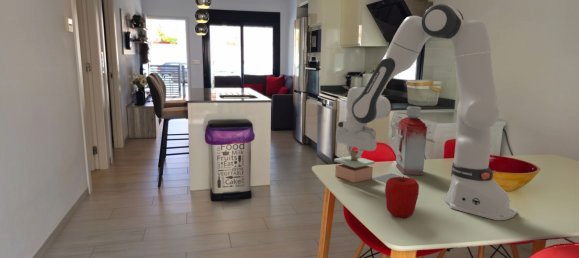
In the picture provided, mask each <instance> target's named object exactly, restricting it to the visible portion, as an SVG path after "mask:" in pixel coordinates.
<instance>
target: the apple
mask: <svg viewBox="0 0 579 258" xmlns="http://www.w3.org/2000/svg"><path fill="white" fill-rule="evenodd" d="M419 189H420V184H419V183H418V181H417V180H416V179H414V178H413V177H412V178H411V177H407V176H405V175H402V177H393V178H390V179H389V180H388V181H387V182H386V183H385V188H384V191H385V202H386V210H387V212H389V213H390V214H391V216H393V217H394V218H398V219H408V218H410V217H411V216H412V215H413V214H414V213H415V211H416V207H417V201H418V199H419V198H418V197H419V192H420V190H419Z"/></svg>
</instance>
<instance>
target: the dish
mask: <svg viewBox="0 0 579 258" xmlns="http://www.w3.org/2000/svg"><path fill="white" fill-rule="evenodd" d="M373 168H374V167H373V166H370V165H366V166H361V167H356V168H354V167H351V166H348V165H345V164H341V163H338V164H336V165H335V174H334V176H335V177H336V178H339V179H342V180H344V181H347V182H350V183H353V184H356V183H360V182H363V181H368V180H371V179H372V178H373Z"/></svg>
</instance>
